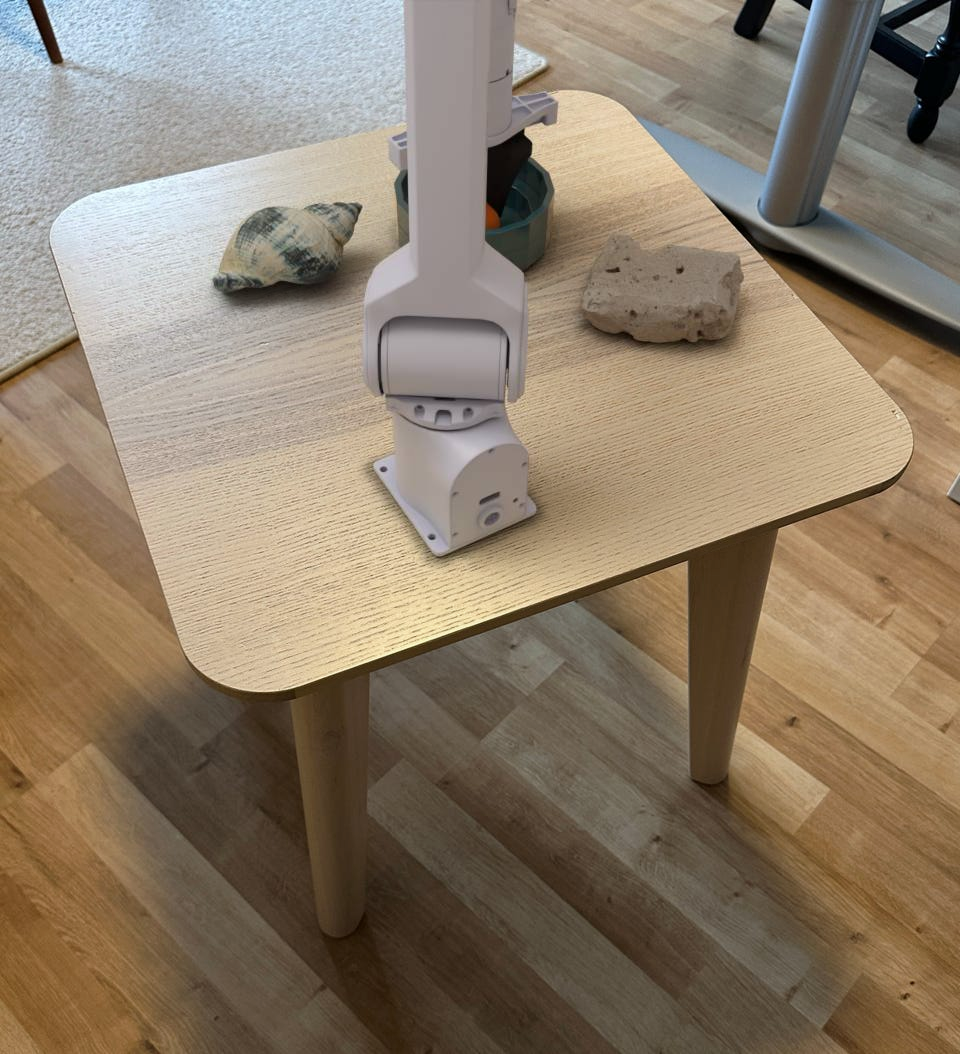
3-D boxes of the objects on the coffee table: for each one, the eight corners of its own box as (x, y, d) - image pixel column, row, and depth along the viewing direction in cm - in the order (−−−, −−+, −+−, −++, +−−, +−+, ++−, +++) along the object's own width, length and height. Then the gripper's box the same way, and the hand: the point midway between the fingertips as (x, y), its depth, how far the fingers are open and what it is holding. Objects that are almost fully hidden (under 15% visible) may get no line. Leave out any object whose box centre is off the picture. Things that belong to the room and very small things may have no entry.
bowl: (578, 254, 92) (584, 204, 88) (444, 303, 88) (443, 252, 84) (499, 178, 100) (500, 128, 96) (371, 219, 95) (367, 169, 91)
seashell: (227, 275, 92) (367, 272, 92) (209, 297, 86) (361, 294, 86) (218, 198, 90) (363, 196, 90) (199, 214, 83) (356, 212, 83)
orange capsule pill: (506, 244, 92) (507, 212, 90) (474, 255, 91) (474, 223, 89) (471, 208, 96) (471, 176, 93) (439, 218, 95) (439, 186, 92)
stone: (571, 265, 91) (574, 349, 85) (585, 208, 86) (588, 293, 80) (725, 283, 92) (738, 367, 86) (746, 227, 87) (762, 312, 81)
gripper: (528, 21, 86) (521, 172, 97) (366, 65, 82) (376, 218, 92) (577, 59, 83) (564, 212, 93) (410, 108, 78) (415, 263, 88)
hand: (473, 218), depth 92 cm, fingers closed on orange capsule pill, 3 cm apart
